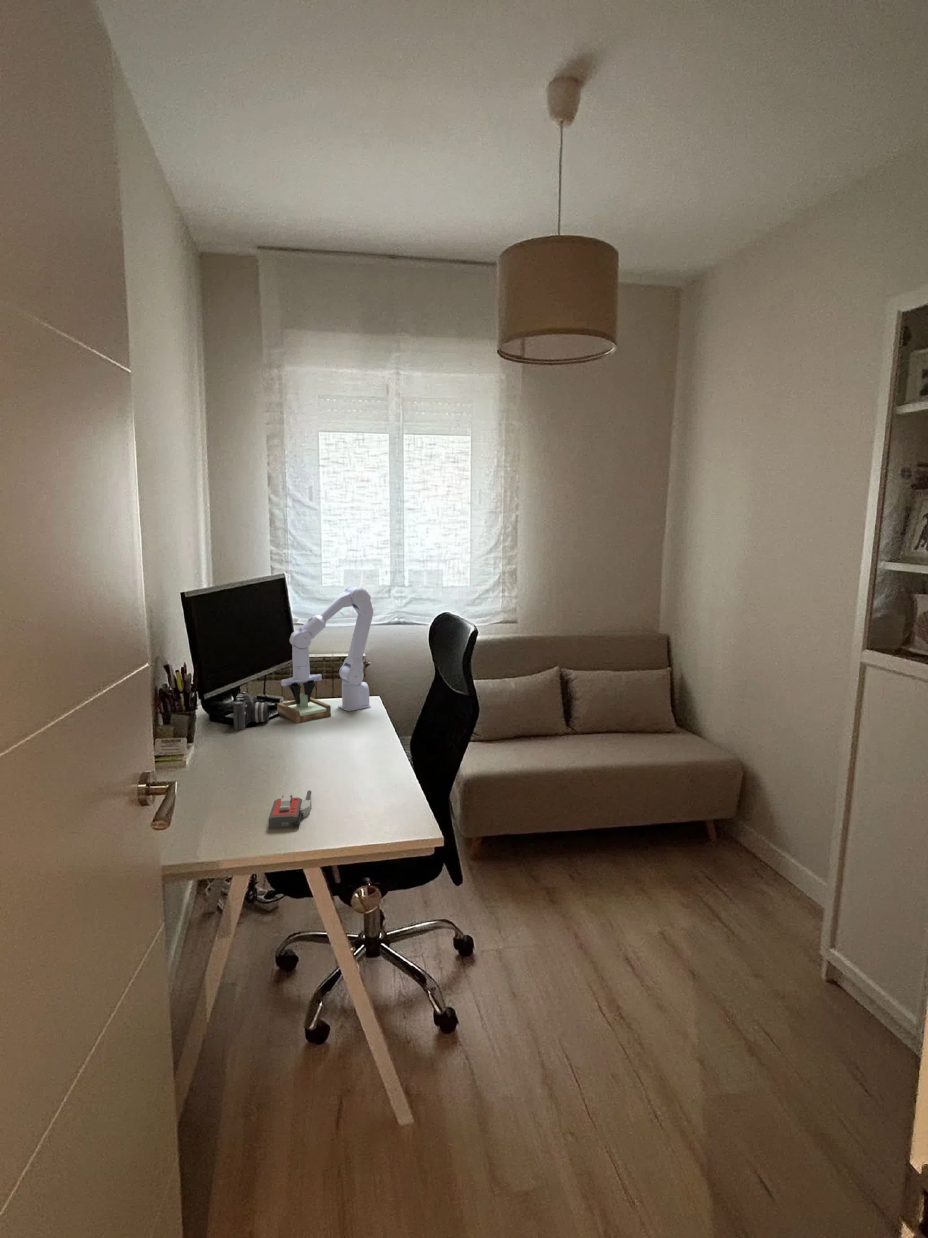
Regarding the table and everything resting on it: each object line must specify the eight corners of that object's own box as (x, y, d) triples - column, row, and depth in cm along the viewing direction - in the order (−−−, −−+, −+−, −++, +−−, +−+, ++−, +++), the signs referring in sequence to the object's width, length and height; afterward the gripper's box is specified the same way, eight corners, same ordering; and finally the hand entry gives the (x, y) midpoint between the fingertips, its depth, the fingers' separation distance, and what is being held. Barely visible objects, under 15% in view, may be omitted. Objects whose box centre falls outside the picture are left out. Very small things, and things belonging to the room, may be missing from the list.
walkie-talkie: (307, 830, 160) (314, 796, 180) (306, 811, 159) (313, 779, 179) (267, 833, 159) (278, 798, 179) (266, 814, 158) (277, 781, 178)
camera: (266, 729, 236) (264, 699, 235) (231, 731, 235) (230, 701, 233) (270, 717, 250) (269, 689, 249) (238, 719, 249) (236, 691, 247)
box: (311, 707, 263) (310, 697, 262) (330, 716, 251) (330, 705, 250) (277, 713, 254) (277, 703, 254) (296, 723, 243) (296, 712, 242)
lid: (310, 704, 259) (310, 691, 258) (326, 711, 250) (326, 697, 249) (284, 709, 253) (284, 695, 252) (300, 716, 244) (299, 702, 243)
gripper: (314, 660, 258) (316, 697, 260) (276, 666, 249) (278, 704, 251) (323, 663, 253) (325, 701, 255) (285, 669, 244) (287, 708, 246)
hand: (302, 703), depth 253 cm, fingers closed on lid, 3 cm apart
